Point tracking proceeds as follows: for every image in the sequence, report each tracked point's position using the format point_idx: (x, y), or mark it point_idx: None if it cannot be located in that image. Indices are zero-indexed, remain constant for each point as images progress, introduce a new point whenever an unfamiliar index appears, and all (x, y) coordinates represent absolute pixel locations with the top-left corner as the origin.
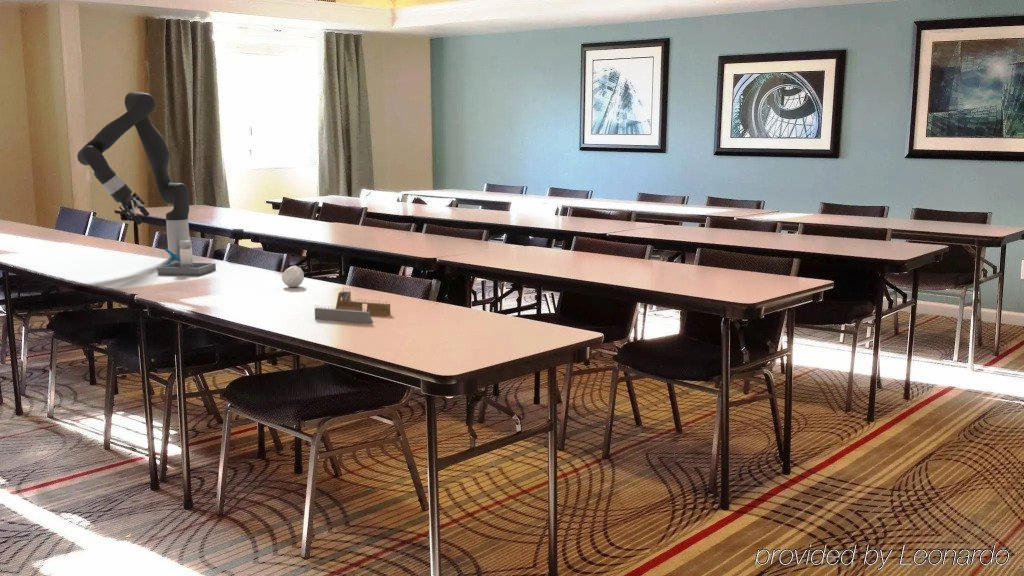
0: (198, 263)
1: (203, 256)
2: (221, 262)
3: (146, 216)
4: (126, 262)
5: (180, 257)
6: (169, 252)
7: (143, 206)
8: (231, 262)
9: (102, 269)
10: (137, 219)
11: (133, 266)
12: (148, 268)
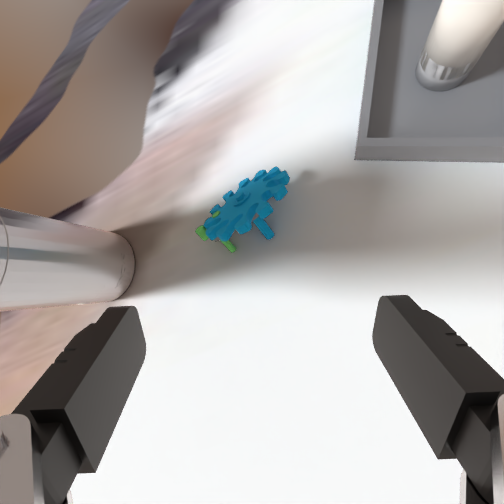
0: (378, 41)
1: (80, 205)
2: (195, 86)
3: (143, 339)
4: (185, 430)
5: (497, 29)
6: (281, 195)
7: (22, 424)
8: (196, 55)
9: (366, 482)
10: (470, 349)
11: (281, 366)
12: (332, 283)
